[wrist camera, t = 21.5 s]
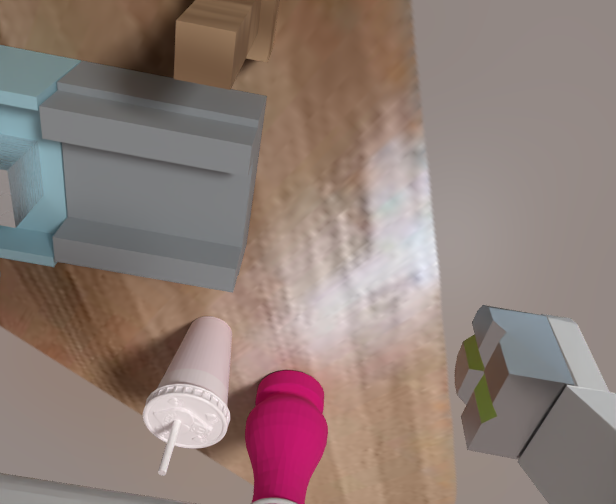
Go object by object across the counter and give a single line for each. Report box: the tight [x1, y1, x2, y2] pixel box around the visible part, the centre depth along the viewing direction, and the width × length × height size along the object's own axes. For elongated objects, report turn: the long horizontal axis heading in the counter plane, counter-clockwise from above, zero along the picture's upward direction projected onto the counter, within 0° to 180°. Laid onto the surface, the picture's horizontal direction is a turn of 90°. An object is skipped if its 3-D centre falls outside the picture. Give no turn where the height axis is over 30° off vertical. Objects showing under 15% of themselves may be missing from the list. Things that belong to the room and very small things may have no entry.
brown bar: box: [174, 0, 280, 90], centre depth 30 cm, size 6×4×12 cm
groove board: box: [39, 61, 267, 292], centre depth 39 cm, size 12×12×6 cm
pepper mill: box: [245, 370, 328, 504], centre depth 46 cm, size 7×7×20 cm
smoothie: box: [143, 316, 232, 475], centre depth 45 cm, size 6×6×14 cm
